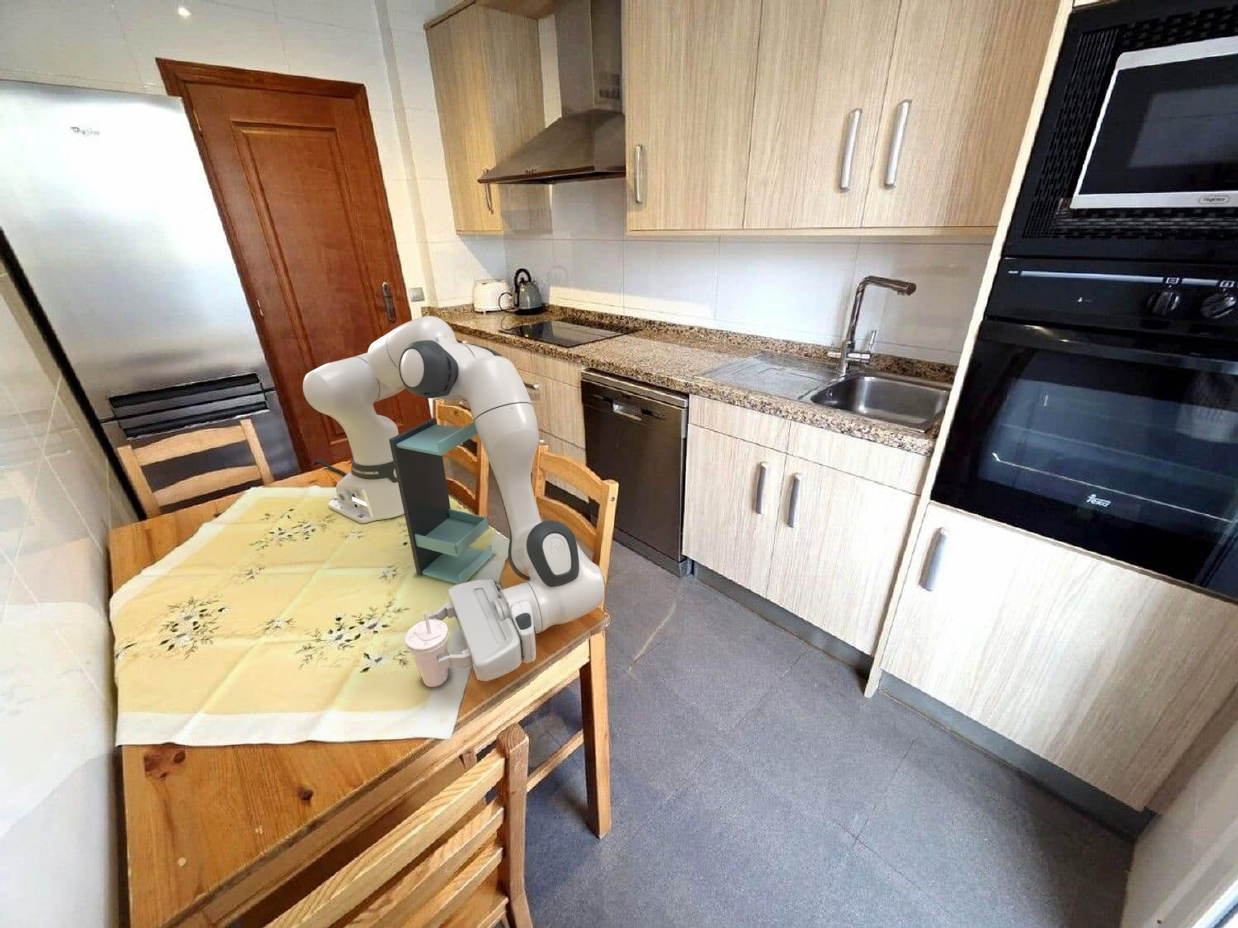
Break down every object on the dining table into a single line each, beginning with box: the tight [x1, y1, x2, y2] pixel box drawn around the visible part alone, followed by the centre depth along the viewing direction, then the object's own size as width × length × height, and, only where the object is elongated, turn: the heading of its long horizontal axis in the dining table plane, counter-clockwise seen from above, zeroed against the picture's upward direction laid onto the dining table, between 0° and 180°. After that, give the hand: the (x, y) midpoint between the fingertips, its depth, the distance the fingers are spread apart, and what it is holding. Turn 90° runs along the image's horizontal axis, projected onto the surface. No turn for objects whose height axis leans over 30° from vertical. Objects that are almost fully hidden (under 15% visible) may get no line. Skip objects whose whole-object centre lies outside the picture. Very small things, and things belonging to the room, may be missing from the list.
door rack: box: [389, 417, 493, 585], centre depth 102 cm, size 11×12×32 cm
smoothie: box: [404, 610, 450, 688], centre depth 79 cm, size 6×6×14 cm
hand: (431, 641), depth 79 cm, fingers open, 8 cm apart
